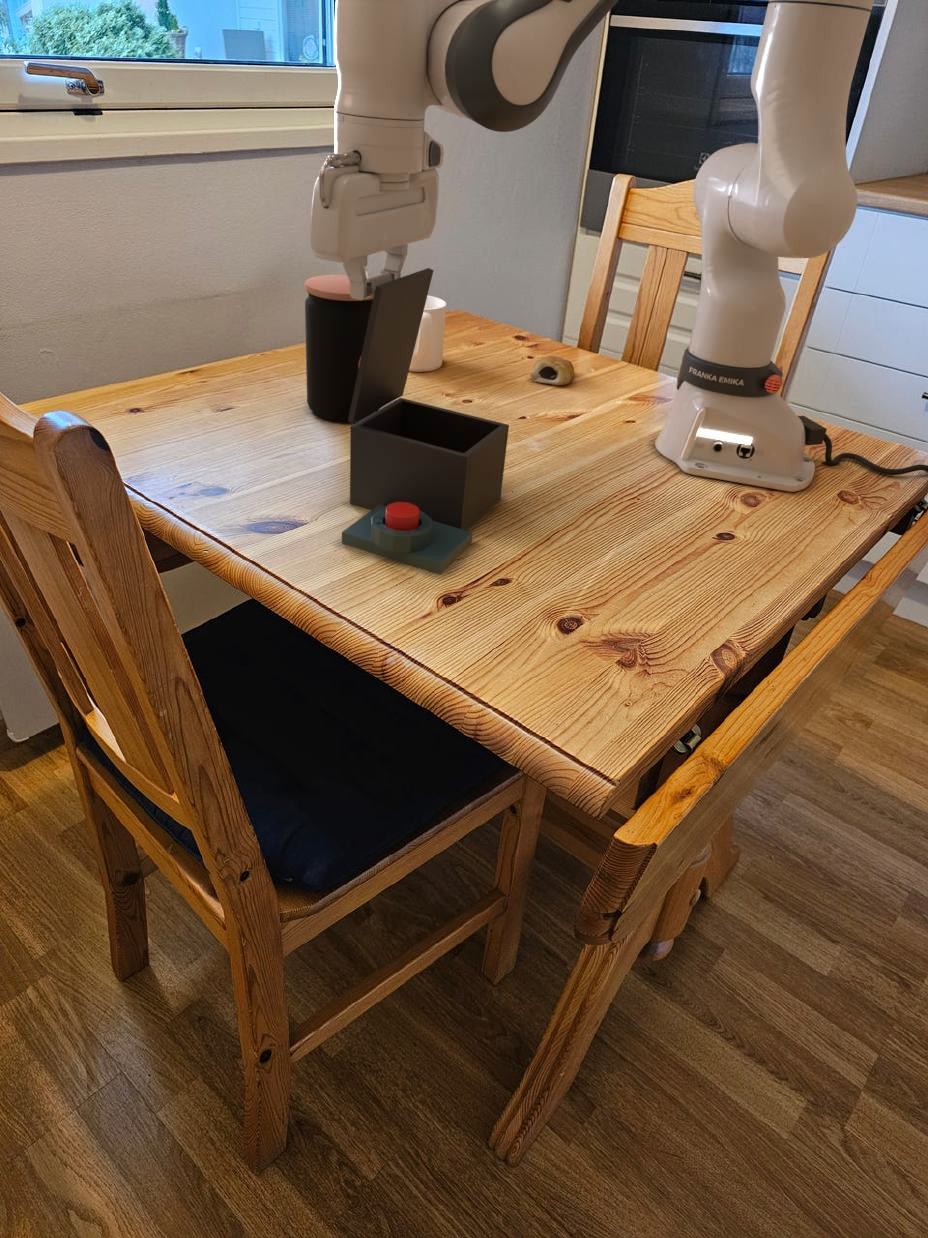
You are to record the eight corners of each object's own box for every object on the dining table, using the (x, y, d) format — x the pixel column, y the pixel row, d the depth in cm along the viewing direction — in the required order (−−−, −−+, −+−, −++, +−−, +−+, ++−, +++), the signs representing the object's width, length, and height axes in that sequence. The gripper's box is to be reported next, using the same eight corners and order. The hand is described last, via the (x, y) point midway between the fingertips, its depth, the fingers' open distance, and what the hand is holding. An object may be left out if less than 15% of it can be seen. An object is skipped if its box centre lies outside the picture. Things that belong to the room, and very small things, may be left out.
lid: (433, 270, 95) (399, 254, 95) (381, 288, 86) (344, 271, 87) (402, 395, 104) (371, 380, 105) (352, 423, 95) (319, 406, 96)
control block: (471, 544, 95) (474, 516, 93) (436, 578, 89) (438, 549, 87) (378, 515, 99) (379, 488, 97) (337, 546, 92) (337, 518, 90)
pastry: (544, 366, 151) (547, 345, 149) (580, 374, 150) (584, 353, 147) (527, 381, 144) (530, 358, 142) (565, 389, 142) (569, 367, 140)
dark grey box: (500, 500, 105) (509, 424, 100) (460, 537, 96) (467, 457, 91) (397, 470, 110) (400, 397, 104) (349, 504, 101) (350, 425, 95)
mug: (379, 353, 150) (380, 293, 144) (434, 353, 153) (437, 294, 147) (394, 377, 140) (396, 313, 134) (452, 376, 143) (457, 314, 137)
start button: (424, 522, 92) (425, 507, 91) (408, 535, 89) (409, 520, 88) (395, 513, 93) (396, 498, 92) (378, 526, 90) (379, 511, 89)
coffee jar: (368, 429, 121) (370, 297, 111) (296, 418, 122) (292, 287, 112) (388, 404, 129) (392, 280, 119) (321, 394, 131) (319, 270, 121)
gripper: (351, 159, 76) (350, 317, 84) (451, 147, 92) (442, 281, 99) (291, 150, 78) (296, 305, 86) (400, 140, 94) (395, 272, 101)
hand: (375, 292), depth 93 cm, fingers closed on lid, 5 cm apart
